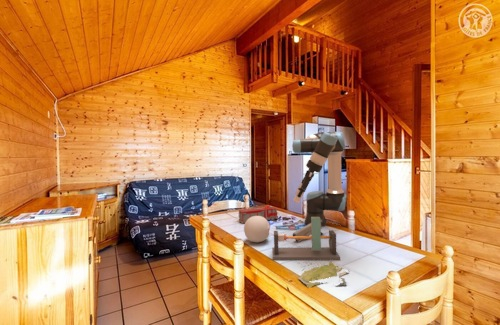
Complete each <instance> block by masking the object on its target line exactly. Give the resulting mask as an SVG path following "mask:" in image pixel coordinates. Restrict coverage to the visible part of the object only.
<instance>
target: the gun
mask: <svg viewBox="0 0 500 325" xmlns="http://www.w3.org/2000/svg"><path fill="white" fill-rule="evenodd" d="M320 222H321V230H322V229H323V228H324V227H325V226H324V225H325V222H324V220H323V219H320ZM292 236H312V233H311V223H310V224H308V225H305V226H303V227H301V228H299V229H297V230H296V231H294V232H292ZM321 236H324V233H323V232H322V231H321ZM294 240H295V242H296V243H300V242H302V241H303V240H304V239H294Z"/></svg>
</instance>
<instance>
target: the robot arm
mask: <svg viewBox="0 0 500 325" xmlns="http://www.w3.org/2000/svg"><path fill="white" fill-rule="evenodd" d="M344 150H346V142H345V136H344V132H342V131H329V132H327V131H325V132H317V133H313V134H311V135H308V136H307V137H305V138H300V139H294V140H293V141H292V152H293V153H294V154H304V153H305V154H306V153H308V154H309V153H310V157H309V158H310V159H308V160H307V163H306V164H305V166H306V168H308V170H306V171H305V174H304V177H303V178H302V179H301V182H300V184H299V186H298V188H297V190H296V192H295V193H294V194H295V196H294V198H293V200H292V201H293V202H295V204H299V203H300V201H301V198H302V197H303V195H304V193H305V192H306V190H307V189H308V186H309V184H310V183H311V181H312V179H313V178H314V176H315V172H316V173H320V172H321V171H322V169H323V166H324V165H325V164H326V161H327V178H328V179H327V181H328V185H327V186H328V189H326V191H325V193H324V191H323V190H316V191H309V192H307V194H306V199H305V200H306V215H305V218H304V225H305V226H306V225H308V224H310V223H311V217H320V219H323V220H324V222H325V225H324V226H323V227H326V226H327V225H328V224H327V219H326V216H325V211H331V212H332V211H333V212H335V211H336V212H343V211H345V210H346V202H347V194H346V193H345V191H344V189H343V188H342V187H343V181H342V179H343V178H342V154H343V153H344Z"/></svg>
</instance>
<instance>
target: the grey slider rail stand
mask: <svg viewBox="0 0 500 325" xmlns="http://www.w3.org/2000/svg"><path fill="white" fill-rule="evenodd" d="M293 239H294V240H295V239H303V240H305V239H306V240H307V239H311V240H312V235H310V236H293V235H291V236H290V235H289V236H288V235H287V234H284V233H279V231H278V230H273V245H274V246H273V247H272V251H271V252H272V261H341V256H340V255H339V253H338V251H337V233H336V232H335V231H334V230H330V229H329V230H328V235H322V236H321V240H322V239H324V240H325V239H328V244H329V245H328V247H322V246H321V250H313V249H312V246H311V247H307V246H306V247H279V242H283V243H284V242H285V241H287V240H293Z"/></svg>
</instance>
